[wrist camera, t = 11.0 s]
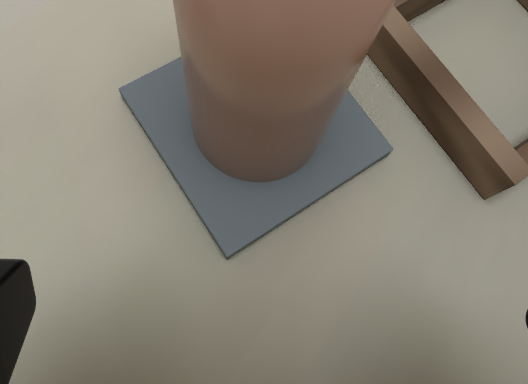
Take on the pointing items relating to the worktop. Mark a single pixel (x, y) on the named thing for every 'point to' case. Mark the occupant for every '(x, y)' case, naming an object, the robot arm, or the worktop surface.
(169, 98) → the mat
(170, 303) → the worktop surface
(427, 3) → the holder
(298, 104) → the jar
